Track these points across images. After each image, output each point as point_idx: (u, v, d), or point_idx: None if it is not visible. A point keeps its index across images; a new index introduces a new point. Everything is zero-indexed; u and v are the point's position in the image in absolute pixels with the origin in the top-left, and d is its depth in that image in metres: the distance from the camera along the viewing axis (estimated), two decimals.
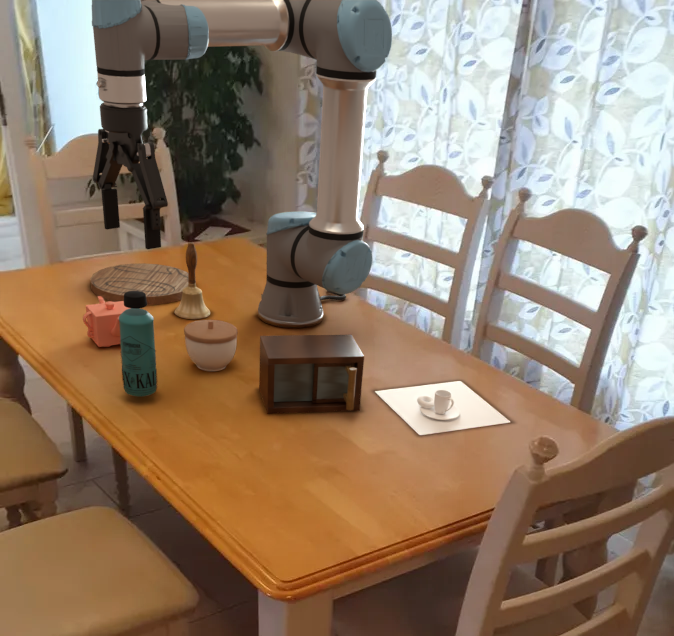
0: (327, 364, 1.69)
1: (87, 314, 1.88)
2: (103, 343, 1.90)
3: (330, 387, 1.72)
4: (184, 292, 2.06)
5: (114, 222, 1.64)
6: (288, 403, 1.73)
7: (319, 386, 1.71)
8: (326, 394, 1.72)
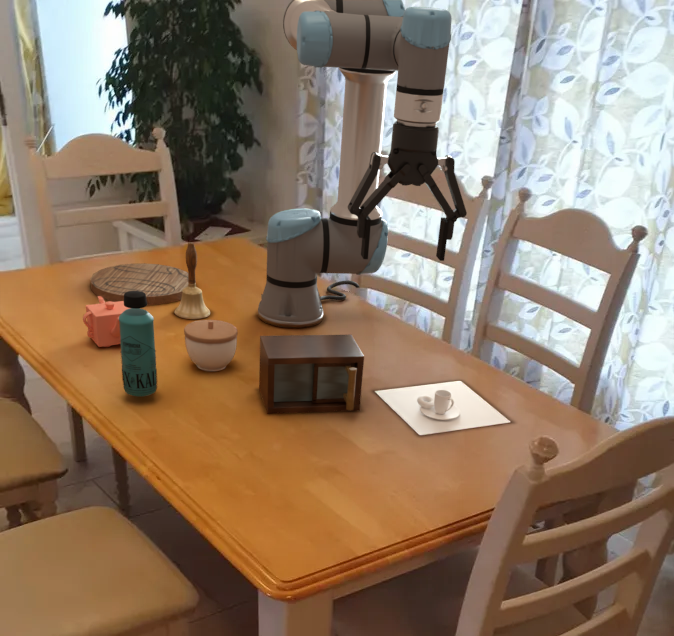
0: (327, 364, 1.69)
1: (87, 314, 1.88)
2: (103, 343, 1.90)
3: (330, 387, 1.72)
4: (184, 292, 2.06)
5: None
6: (288, 403, 1.73)
7: (319, 386, 1.71)
8: (326, 394, 1.72)
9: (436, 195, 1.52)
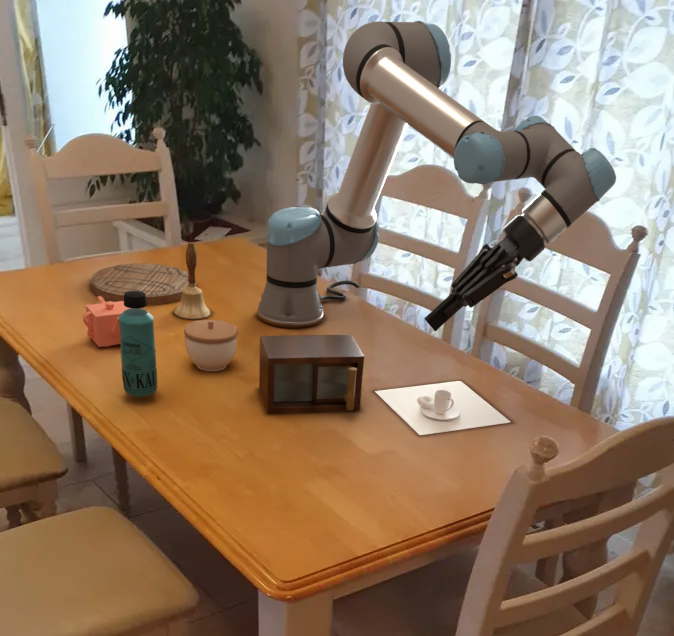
0: (327, 364, 1.69)
1: (87, 314, 1.88)
2: (103, 343, 1.90)
3: (330, 387, 1.72)
4: (184, 292, 2.06)
5: None
6: (288, 403, 1.73)
7: (319, 386, 1.71)
8: (326, 394, 1.72)
9: None
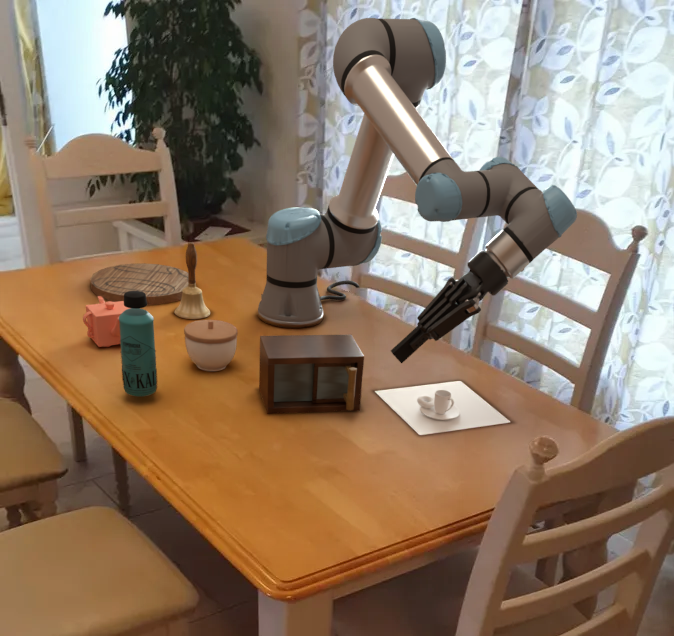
0: (327, 364, 1.69)
1: (87, 314, 1.88)
2: (103, 343, 1.90)
3: (330, 387, 1.72)
4: (184, 292, 2.06)
5: None
6: (288, 403, 1.73)
7: (319, 386, 1.71)
8: (326, 394, 1.72)
9: None
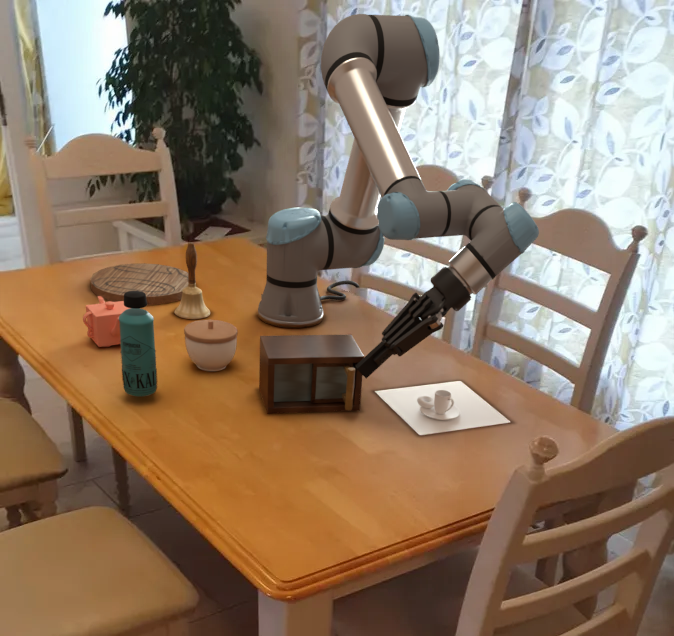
0: (326, 364, 1.69)
1: (87, 314, 1.88)
2: (103, 343, 1.90)
3: (329, 387, 1.72)
4: (184, 292, 2.06)
5: None
6: (288, 403, 1.73)
7: (318, 386, 1.71)
8: (324, 394, 1.72)
9: None
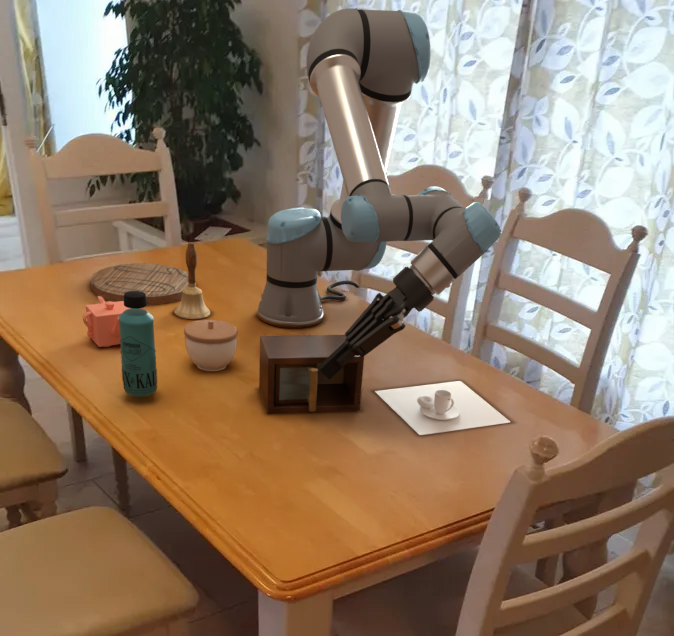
0: (289, 365, 1.67)
1: (87, 314, 1.88)
2: (103, 343, 1.90)
3: (293, 388, 1.70)
4: (184, 292, 2.06)
5: None
6: None
7: (281, 387, 1.70)
8: (288, 395, 1.71)
9: None
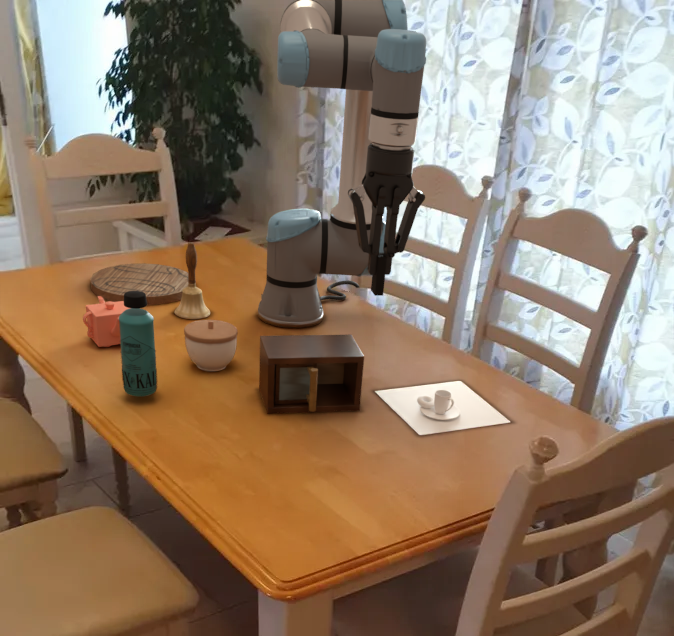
0: (289, 365, 1.67)
1: (87, 314, 1.88)
2: (103, 343, 1.90)
3: (292, 388, 1.70)
4: (184, 292, 2.06)
5: None
6: None
7: (281, 387, 1.70)
8: (288, 395, 1.71)
9: (391, 223, 1.50)
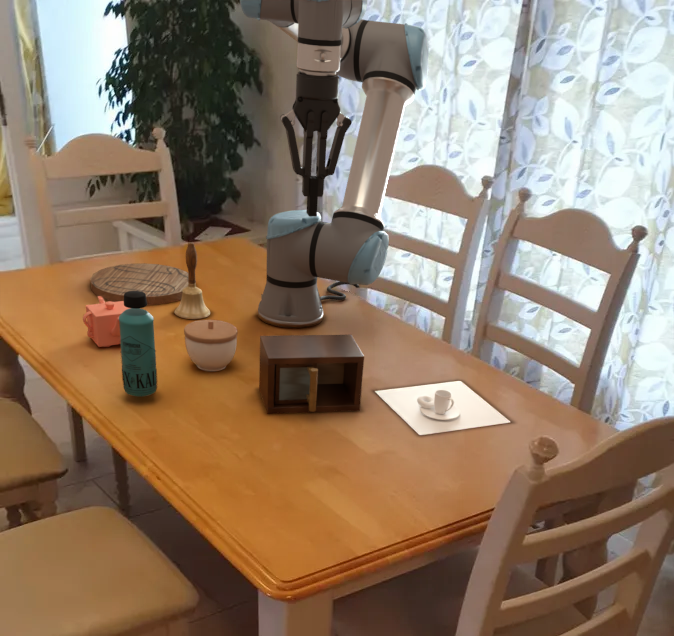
0: (289, 365, 1.67)
1: (87, 314, 1.88)
2: (103, 343, 1.90)
3: (292, 388, 1.70)
4: (184, 292, 2.06)
5: None
6: None
7: (281, 387, 1.70)
8: (288, 395, 1.71)
9: (321, 147, 1.64)
